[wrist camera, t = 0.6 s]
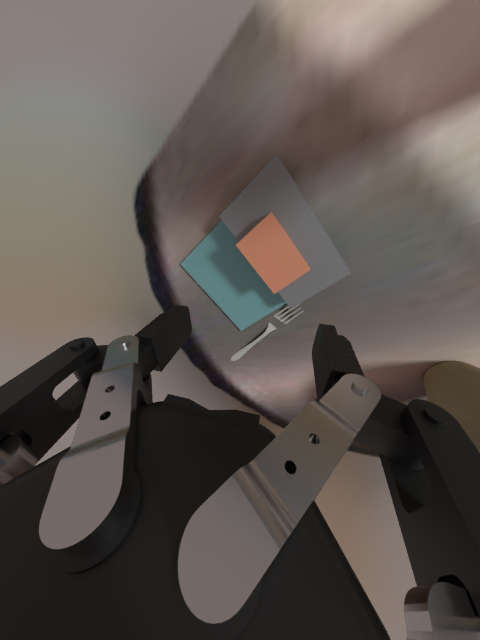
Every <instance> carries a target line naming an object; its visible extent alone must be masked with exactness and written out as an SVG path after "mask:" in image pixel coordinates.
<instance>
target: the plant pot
mask: <svg viewBox="0 0 480 640" xmlns="http://www.w3.org/2000/svg"><path fill="white" fill-rule="evenodd" d="M423 380H424V385H425V390H426V394H427V397H428V401H429V402H431V403H433V404H436V405H438V406H439V407H441V408H443V409H444V410H446V411H447V412H448V413H450V414H451V415H452V416H453V417H454V418H455V419H456V420H457V421H458V422H459V424H460V425H461V426H462V428H463V429H464V431H465V432H466V434H467V435H468V437H469V438H470V439H471V441H472V442H473V444H474V445H475V447H476V448H477V449H478V451H479V452H480V368H478V367H475V366H472V365H470V364H467V363H464V362H459V361H447V362H442V363H439V364H437V365H434V366H432V367H431V368H429V369H428V370H427V371H426V373H425V374H424V377H423Z"/></svg>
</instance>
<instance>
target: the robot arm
mask: <svg viewBox="0 0 480 640" xmlns="http://www.w3.org/2000/svg"><path fill="white" fill-rule="evenodd" d="M191 330H192V326H191V319H190V312H189V308H188V307H187V306H181V305H175V306H173V307H172V308H171V309H170V310H169V311H167V312H165V313H162V314H160V315H159V316H158V317H156V318H155V319H154V320H153V321H152V322H150V324H148V325H147V326H146V327H144V328H143V329H142V330H141V331H139V332H138V333H137V334H136V335H135V336H131V335H129V336H123V337H120V338H117V339H115V340H114V341H112V342H111V343H110V344H109V345H102V346H96V344H95V342H94V340H93V339H92V338H79V339H75V340H73V341H71V342H68V343H67V344H65V345H63V346H62V347H60V348H59V349H57V350H56V351H54V352H53V353H51V354H50V355H48V356H47V357H45V358H44V359H42V360H40V361H39V362H37V363H36V364H34V365H33V366H31V367H30V368H28V369H27V370H25V371H24V372H22V373H21V374H19V375H18V376H16V377H14V378H13V379H11V380H10V381H8V382H7V383H5V384H4V385H2V386H1V387H0V640H391V639H390V637H389V635H388V633H387V631H386V629H385V627H384V625H383V624H382V622H381V620H380V618H379V616H378V614H377V613H376V611H375V609H374V607H373V606H372V604H371V602H370V600H369V598H368V596H367V595H366V593H365V591H364V589H363V588H362V586H361V584H360V582H359V580H358V578H357V577H356V575H355V573H354V571H353V570H352V568H351V566H350V564H349V562H348V560H347V559H346V557H345V555H344V553H343V551H342V550H341V548H340V546H339V544H338V542H337V541H336V539H335V537H334V535H333V533H332V532H331V530H330V528H329V526H328V525H327V523H326V521H325V519H324V517H323V515H322V514H321V512H320V510H319V508H318V506H317V505H316V503H315V501H314V500H315V498H316V497H317V495H318V494H319V492H320V491H321V489H322V488H323V486H324V484H325V483H326V481H327V480H328V478H329V477H330V475H331V474H332V472H333V471H334V469H335V468H336V466H337V465H338V463H339V462H340V460H341V459H342V457H343V456H344V454H345V453H346V451H347V450H348V448H349V447H350V445H351V444H352V442H353V440H354V439H355V440H356V441H358V442H360V443H362V444H364V445H366V446H368V447H370V448H371V449H373V450H375V451H377V452H379V455H380V459H381V462H382V466H383V469H384V473H385V476H386V480H387V483H388V487H389V490H390V494H391V497H392V500H393V504H394V508H395V511H396V515H397V518H398V521H399V525H400V528H401V532H402V535H403V539H404V542H405V546H406V549H407V553H408V556H409V560H410V563H411V567H412V570H413V573H414V577H415V580H416V584H417V587H413V588H411V589H410V590H409V591H408V592H407V594H406V597H405V601H404V615H405V622H406V629H407V640H480V452H479V451H478V449H477V448H476V447H475V445H474V444H473V442H472V441H471V439H470V438H469V437H468V435H467V434H466V432H465V431H464V429H463V428H462V426H461V425H460V424H459V422H458V421H457V420H456V419H455V418H454V417H453V416H452V415H451V414H450V413H448V412H447V411H446V410H444V409H443V408H441V407H439V406H438V405H436V404H433V403H431V402H428V401H425V400H420V399H416V400H412V401H410V402H409V404H408V405H405V404H402V403H400V402H398V401H395V400H393V399H390V398H388V397H386V396H384V395H382V394H381V392H380V390H379V388H378V387H377V386H376V385H375V384H374V383H373V382H372V381H371V380H369V379H368V378H366V377H364V374H363V372H362V370H361V367H360V365H359V362H358V360H357V358H356V356H355V353H354V351H353V348H352V346H351V343H350V342H349V341H348V340H347V339H346V338H345V337H344V336H341V335H338V334H337V331H336V328H335V326H333V325H325V324H319V326H318V329H317V333H316V336H315V340H314V344H313V348H312V360H313V368H314V375H315V383H316V391H317V399H318V400H317V399H315V400H313V401H312V402H311V403H310V404H309V405H308V406H307V407H306V408H305V409H304V410H303V411H302V412H301V413H300V414H299V415H298V416H297V417H296V418H295V419H294V420H293V421H292V422H291V423H290V424H289V425H288V426H287V427H286V428H285V429H284V430H283V431H282V432H281V433H280V434H279V435H278V436H277V437H276V436H275V435H274V434H273V433H272V432H271V431H270V430H269V429H267V428H266V427H264V426H263V425H261V424H259V419H260V415H256V414H252V413H247V412H243V411H239V410H208V409H206V408H204V407H203V406H201V405H199V404H197V403H195V402H194V401H192V400H190V399H187V398H183V397H179V396H174V395H170V394H168V395H167V397H166V398H165V400H164V401H162V402H155V403H153V401H152V380H151V374H150V373H151V371H152V370H156V371H160V372H161V371H162V370H163V369H164V367H165V366H166V365H167V364H168V362H169V361H170V360H171V359H172V357H173V356H174V355H175V354H176V352H177V351H178V350H179V349H180V347H181V346H182V345H183V343H184V342H185V341H186V340H187V338H188V337H189V336H190V334H191ZM72 373H74V375H75V376H76V378H77V379H78V382H77V383H75V384H74V385H73V386H72V387H71V388H70V389H69V390H68V391H66V392H65V393H64V394H63V395H62V396H61V397H59V398H58V399H57V400H55V399H54V398H53V396H52V393H53V390H54V388H55V387H56V386H57V385H58V384H59V383H60V382H62V381H63V380H64V379H65V378H67V377H68V376H69V375H70V374H72ZM79 417H80V418H79ZM78 418H79V421H78V425H77V428H76V431H75V435H74V438H73V441H72V445H71V446H70V447H68V448H67V449H65V450H63V451H61V452H60V453H58V454H56V455H54V456H53V457H51V458H49V459H47V460H46V461H44V462H42V463H40V464H38V465H36V463H37V462H38V461H39V460H40V459H41V458H42V457H43V456H44V454H46V453H47V451H48V450H49V449H50V448H51V447H52V446H53V445H54V444H55V443H56V442H57V441H58V440H59V439H60V438H61V436H62V435H63V434H64V433H65V432H66V431H67V430H68V429H69V428H70V427H71V426H72V425H73V424H74V423H75V422H76V420H77V419H78ZM35 465H36V466H35Z"/></svg>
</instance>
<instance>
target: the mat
mask: <svg viewBox="0 0 480 640" xmlns="http://www.w3.org/2000/svg"><path fill="white" fill-rule="evenodd" d="M238 242H239V241H238V240H237V239H236V238H235V236H234V235H233V234H232V232H231V231H230V230H229V229H228V227H227V226H226V225H225V223H224V222H223V221H222V220H221V221H220V222H219V223H218V224H217V226H216V227H215V228H214V229H213V230H212V231H211V232H210V233H209V234H208V235H207V236H206V237H205V238H204V239H203V240H202V242H201V243H200V244H199V245H198V246H197V247H196V248H195V249H194V250H193V251H192V252H191V253H190V254H189V255H188V256H187V258H186V259H185V260H184V261H183V262H182V263H181V266H182V267H183V268H184V269H185V270H186V271H187V272H188V273H189V274H190V275H191V276H192V278H193V279H194V280H195V281H196V282H197V283H198V284H199V285H200V286H201V287H202V289H203V290H204V291H205V292H206V293H207V294H208V295H209V296H210V297H211V298H212V300H213V301H214V302H215V303H216V304H217V305H218V306H219V307H220V308H221V309H222V311H223V312H224V313H225V314H226V315H227V316H228V317H229V318H230V319H231V320H232V322H233V323H234V324H235V325H236V326H237V327H238V328H239V329H240V330H241V331H242V330H243V329H245V328H247V327H248V326H250V325H251V324H253V323H255V322H256V321H258V320H260V319H261V318H263V317H264V316H266V315H268V314H269V313H271V312H273V311H274V310H276V309H277V308H279V307H281V306H282V305H284V304H285V303H286V302H285V301H284V299H283V298H282V297H281V296H280V294H279V293H278V292H277V293H275V294H274V293H273V292H272V291H271V289H270V288H269V287H268V286H267V284H266V283H265V282H264V281H263V279H262V278H261V277H260V275H259V274H258V273H257V272H256V270H255V269H254V268H253V267H252V265H251V264H250V263H249V261H248V260H247V259H246V258H245V256H244V255H243V254H242V253H241V251H240V250H239V249H238V247H237V246H236V244H237V243H238Z"/></svg>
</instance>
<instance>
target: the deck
mask: <svg viewBox="0 0 480 640" xmlns="http://www.w3.org/2000/svg"><path fill="white" fill-rule="evenodd" d="M271 212H272V213H273V214H274V216H275V217H276V218H277V220H278V221H279V223H280V224H281V226H282V227H283V229H284V230H285V232H286V233H287V235H288V236H289V237H290V239H291V240H292V242H293V243H294V245H295V246H296V248H297V249H298V251H299V252H300V254H301V255H302V256H303V258H304V259H305V261H306V262H307V264H308V265H309V268H310V271H308V272H307V273H305V274H304V275H302V276H301V277H299V278H298V279H296V280H295V281H293V282H292V283H290V284H289V285H287V286H286V287H284V288H283V289H281V290H280V291H278V293H279V294H280V296H281V297H282V298H283V299H284V301H285V302H286V303H287V305H288V306H289V307H290V308H291V309H292V308H293V307H295V306H297V305H298V304H300V303H302V302H303V301H305V300H307V299H308V298H310V297H312V296H313V295H315V294H317V293H319V292H320V291H322V290H324V289H325V288H327V287H329V286H330V285H332V284H334V283H335V282H337V281H339V280H340V279H342V278H344V277H345V276H347V275H349V274H351V272H350V270H349V269H348V267H347V266H346V264H345V262H344V261H343V259H342V257H341V256H340V254H339V253H338V251H337V249H336V248H335V246H334V244H333V243H332V241H331V240H330V238H329V236H328V235H327V233H326V231H325V230H324V228H323V227H322V225H321V223H320V222H319V220H318V218H317V217H316V215H315V214H314V212H313V210H312V209H311V207H310V206H309V204H308V202H307V201H306V199H305V197H304V196H303V194H302V193H301V191H300V189H299V188H298V186H297V184H296V183H295V181H294V180H293V178H292V176H291V175H290V173H289V171H288V170H287V168H286V167H285V165H284V163H283V162H282V160H281V158H280V157H279V155H278V154H276V155H275V156H274V157H273V158H272V159H271V160H270V161H269V162H268V164H267V165H266V166H265V167H264V168H263V169H262V170H261V171H260V172H259V173H258V174H257V176H256V177H255V178H254V179H253V180H252V181H251V182H250V183H249V184H248V185H247V186H246V188H245V189H244V190H243V191H242V192H241V193H240V194H239V195H238V196H237V197H236V198H235V200H234V201H233V202H232V203H231V204H230V205H229V206H228V207H227V208H226V209H225V210H224V211H223V213H222V214H221V215H220V216H219V217H220V218H221V220H222V221H223V222H224V223H225V225H226V226H227V227H228V229H229V230H230V231H231V232H232V234H233V235H234V236H235V238H236V239H237V240H238V241H240V240H242V239H243V238H244V237H245V236H246V235H247V234H248V233H249V232H250V231H251V230H252V229H253V228H254V227H256V226H257V225H258V224H259V223H260V222H261V221H262V220H263V219H264V218H265V217H266V216H267V215H268V214H270V213H271Z"/></svg>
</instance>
